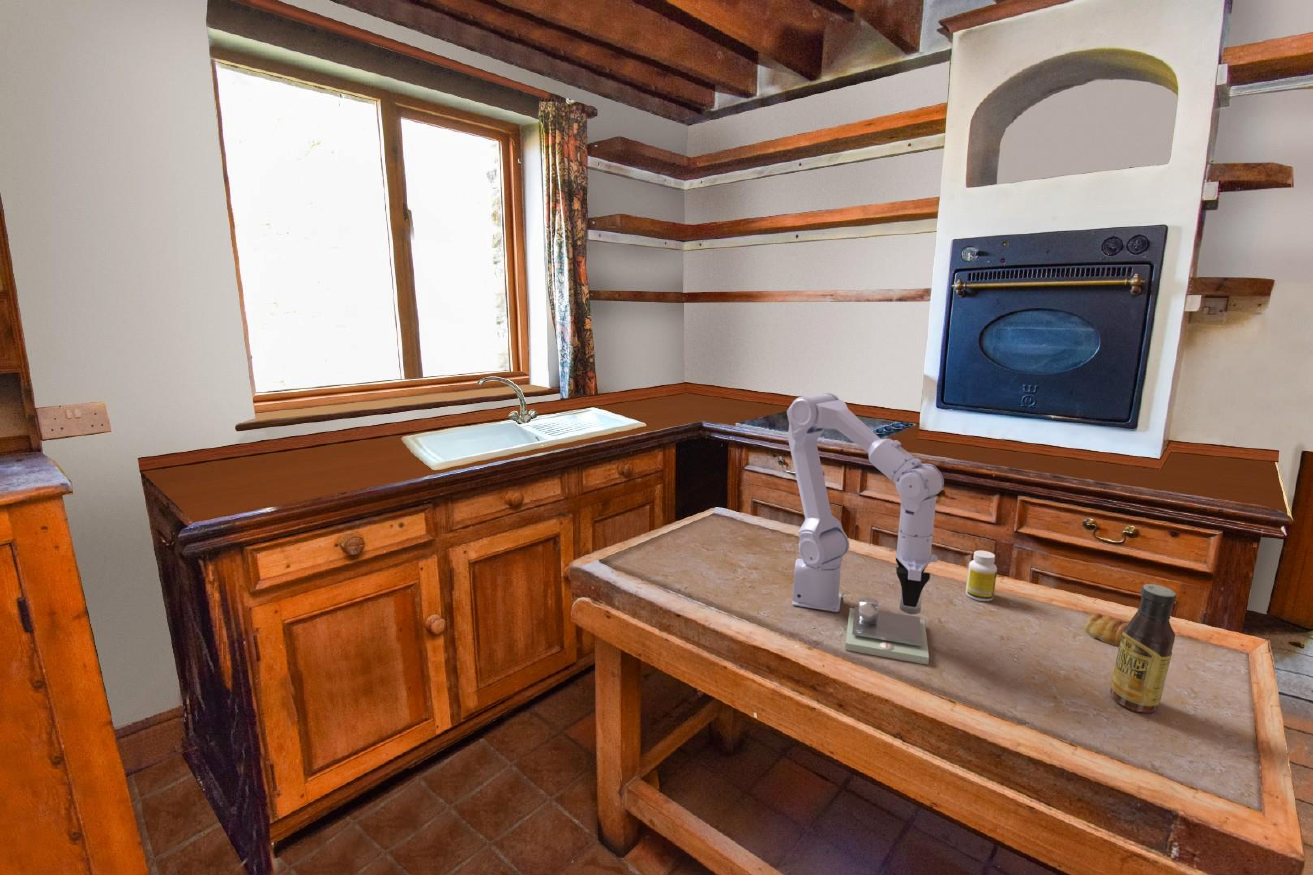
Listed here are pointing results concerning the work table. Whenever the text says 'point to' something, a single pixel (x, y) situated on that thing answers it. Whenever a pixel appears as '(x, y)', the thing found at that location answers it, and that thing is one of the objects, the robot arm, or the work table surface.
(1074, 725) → the work table surface
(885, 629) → the scale platform
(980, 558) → the supplement bottle
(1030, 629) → the work table surface
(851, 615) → the scale
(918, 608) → the cylinder
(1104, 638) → the pastry
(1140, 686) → the sauce bottle
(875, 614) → the cylinder
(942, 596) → the work table surface
